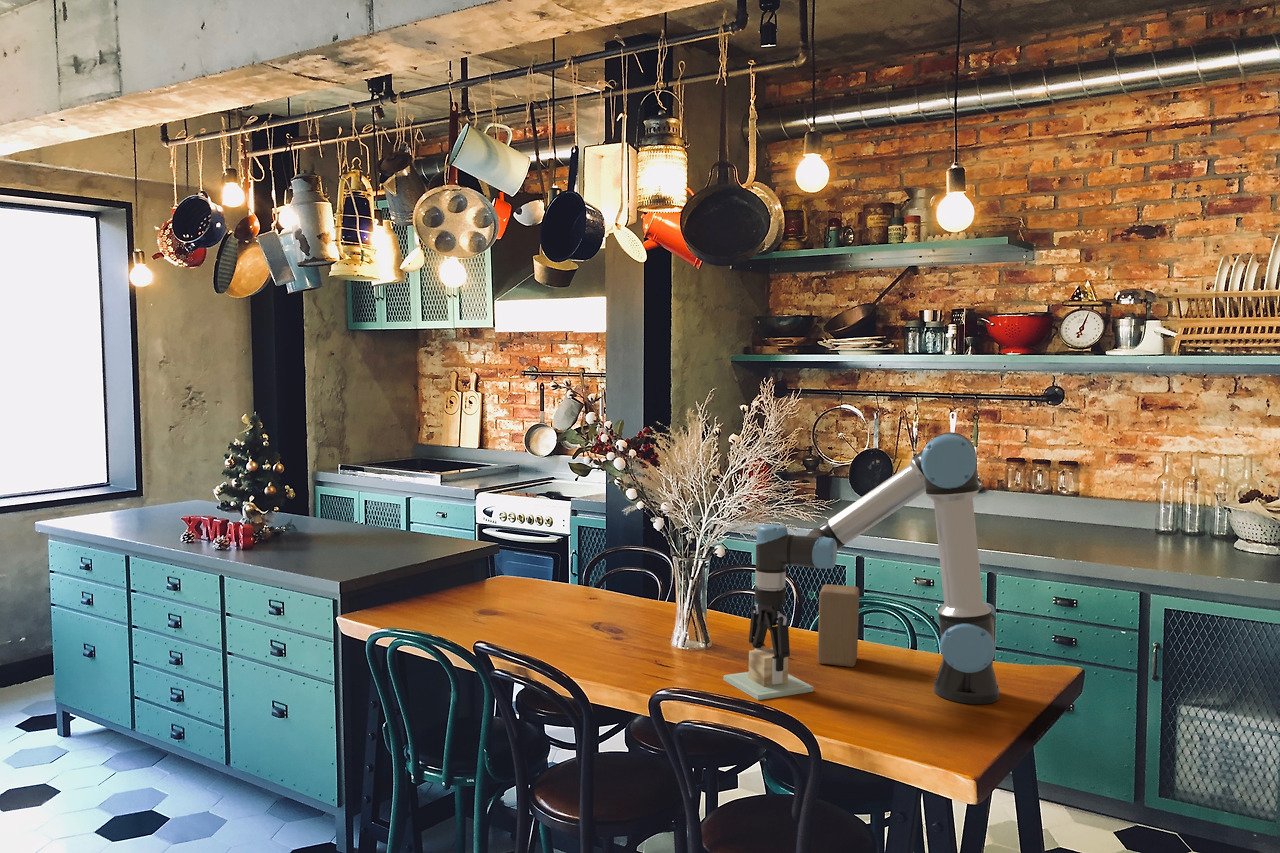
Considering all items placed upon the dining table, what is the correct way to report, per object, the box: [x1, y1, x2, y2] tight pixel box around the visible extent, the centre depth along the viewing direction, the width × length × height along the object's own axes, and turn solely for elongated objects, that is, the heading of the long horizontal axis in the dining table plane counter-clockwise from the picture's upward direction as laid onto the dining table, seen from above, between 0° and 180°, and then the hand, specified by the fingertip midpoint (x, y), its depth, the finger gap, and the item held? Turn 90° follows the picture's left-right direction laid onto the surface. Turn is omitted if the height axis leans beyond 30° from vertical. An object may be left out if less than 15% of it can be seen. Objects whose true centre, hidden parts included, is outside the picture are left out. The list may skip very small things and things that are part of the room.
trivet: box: [722, 671, 814, 701], centre depth 234 cm, size 16×16×1 cm
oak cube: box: [747, 647, 789, 687], centre depth 234 cm, size 7×7×7 cm
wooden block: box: [817, 584, 860, 668], centre depth 255 cm, size 10×10×20 cm
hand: (767, 678), depth 234 cm, fingers open, 7 cm apart
